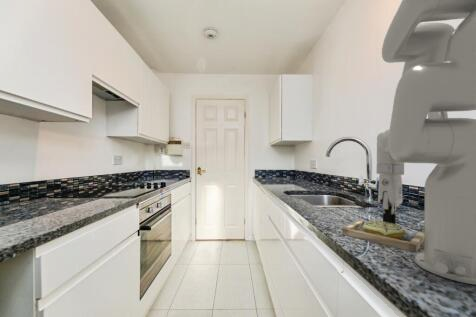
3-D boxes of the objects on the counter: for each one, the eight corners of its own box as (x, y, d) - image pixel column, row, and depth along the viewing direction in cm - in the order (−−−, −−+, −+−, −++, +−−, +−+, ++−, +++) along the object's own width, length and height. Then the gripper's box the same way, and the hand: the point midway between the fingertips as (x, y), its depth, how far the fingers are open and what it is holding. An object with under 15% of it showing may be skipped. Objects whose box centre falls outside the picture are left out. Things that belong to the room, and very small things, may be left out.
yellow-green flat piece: (355, 233, 71) (355, 221, 71) (377, 229, 76) (377, 218, 76) (389, 244, 62) (389, 230, 62) (411, 239, 67) (411, 226, 67)
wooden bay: (416, 252, 56) (416, 245, 56) (342, 234, 69) (342, 228, 69) (425, 238, 67) (425, 232, 67) (359, 225, 80) (359, 220, 80)
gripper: (398, 170, 66) (397, 233, 66) (408, 169, 76) (408, 224, 76) (369, 169, 71) (369, 227, 71) (383, 168, 82) (382, 219, 82)
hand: (389, 225), depth 74 cm, fingers closed
